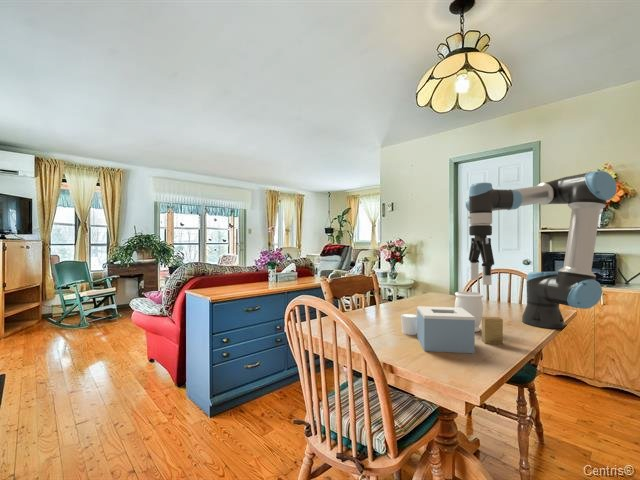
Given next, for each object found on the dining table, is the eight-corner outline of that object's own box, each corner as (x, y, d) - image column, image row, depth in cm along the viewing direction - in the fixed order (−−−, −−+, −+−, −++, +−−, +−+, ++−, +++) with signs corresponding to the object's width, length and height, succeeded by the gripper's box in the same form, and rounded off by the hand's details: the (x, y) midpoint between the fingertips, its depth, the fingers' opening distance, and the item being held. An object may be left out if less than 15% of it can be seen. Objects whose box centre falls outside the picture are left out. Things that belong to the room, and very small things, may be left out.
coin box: (461, 339, 116) (461, 307, 116) (474, 353, 102) (474, 317, 102) (417, 337, 118) (417, 306, 118) (424, 350, 104) (424, 315, 104)
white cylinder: (419, 335, 120) (419, 317, 120) (401, 334, 122) (401, 317, 122) (417, 330, 127) (417, 313, 127) (400, 329, 129) (400, 312, 128)
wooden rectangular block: (499, 341, 114) (499, 317, 114) (502, 344, 111) (502, 319, 111) (481, 340, 115) (481, 316, 114) (484, 343, 112) (484, 318, 111)
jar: (476, 326, 134) (477, 291, 133) (487, 333, 123) (487, 295, 123) (451, 325, 135) (451, 291, 134) (459, 332, 124) (459, 295, 124)
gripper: (460, 226, 128) (460, 277, 129) (481, 223, 104) (480, 286, 104) (480, 226, 127) (479, 277, 127) (505, 223, 103) (505, 287, 103)
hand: (480, 282), depth 116 cm, fingers open, 13 cm apart
